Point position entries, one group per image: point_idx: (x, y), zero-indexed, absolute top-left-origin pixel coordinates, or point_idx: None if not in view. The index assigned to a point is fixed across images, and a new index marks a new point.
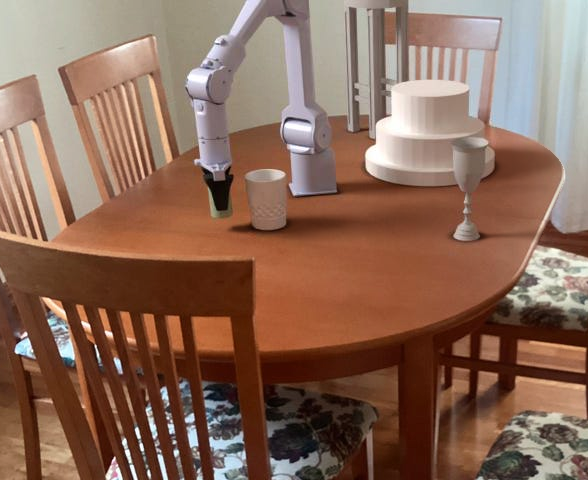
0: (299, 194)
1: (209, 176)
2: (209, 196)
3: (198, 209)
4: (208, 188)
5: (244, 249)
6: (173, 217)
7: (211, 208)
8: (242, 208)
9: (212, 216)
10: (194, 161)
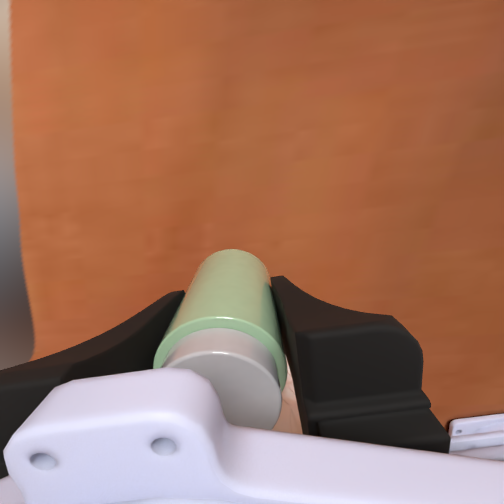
0: (451, 434)
1: (11, 433)
2: (198, 288)
3: (438, 168)
4: (188, 311)
5: (80, 328)
6: (378, 76)
7: (202, 268)
8: (403, 304)
9: (207, 257)
10: (113, 404)
